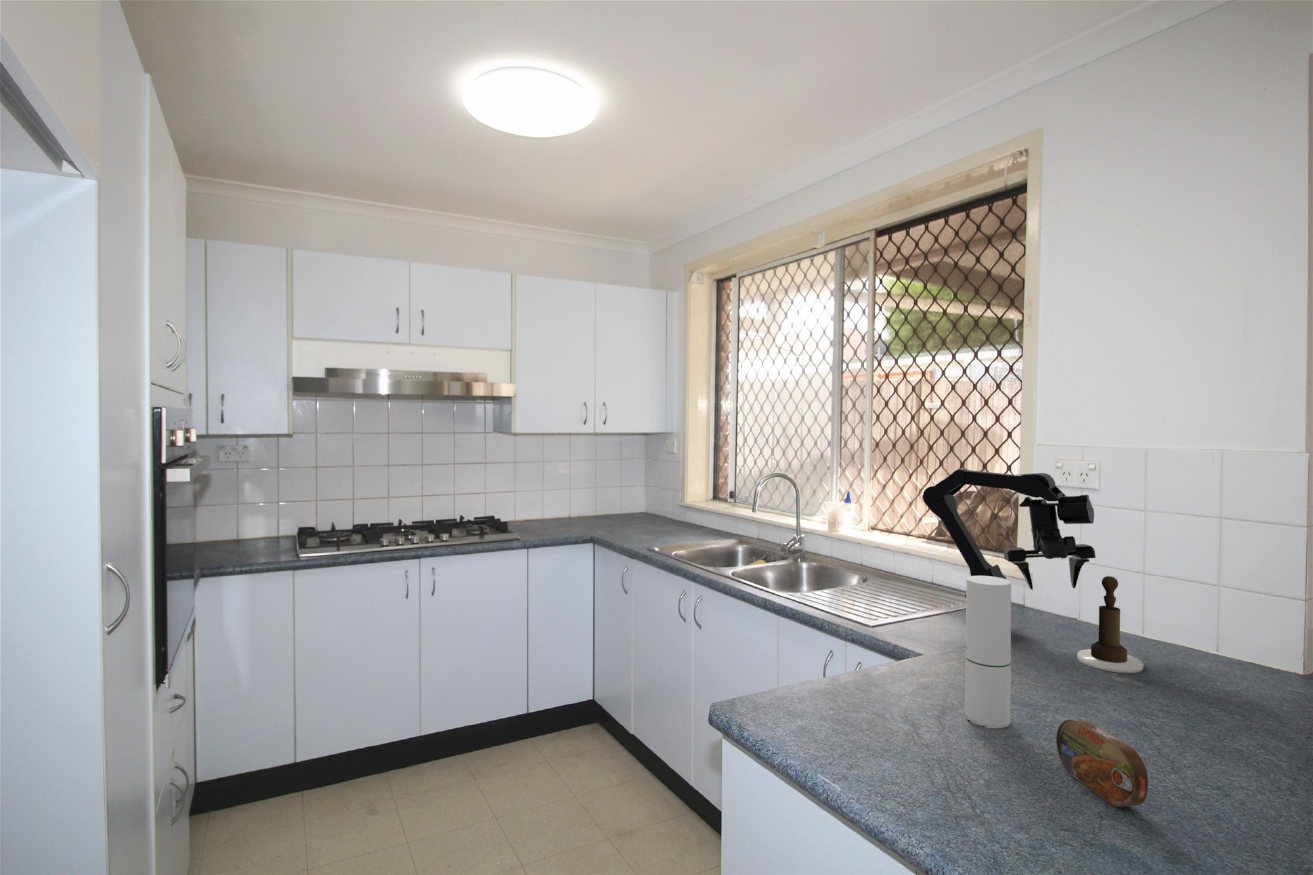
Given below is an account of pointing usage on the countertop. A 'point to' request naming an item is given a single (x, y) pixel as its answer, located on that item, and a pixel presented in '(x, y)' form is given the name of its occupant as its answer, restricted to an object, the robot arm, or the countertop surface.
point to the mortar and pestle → (1109, 627)
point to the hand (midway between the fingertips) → (1052, 588)
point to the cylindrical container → (988, 649)
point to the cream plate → (1110, 663)
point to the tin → (1102, 763)
